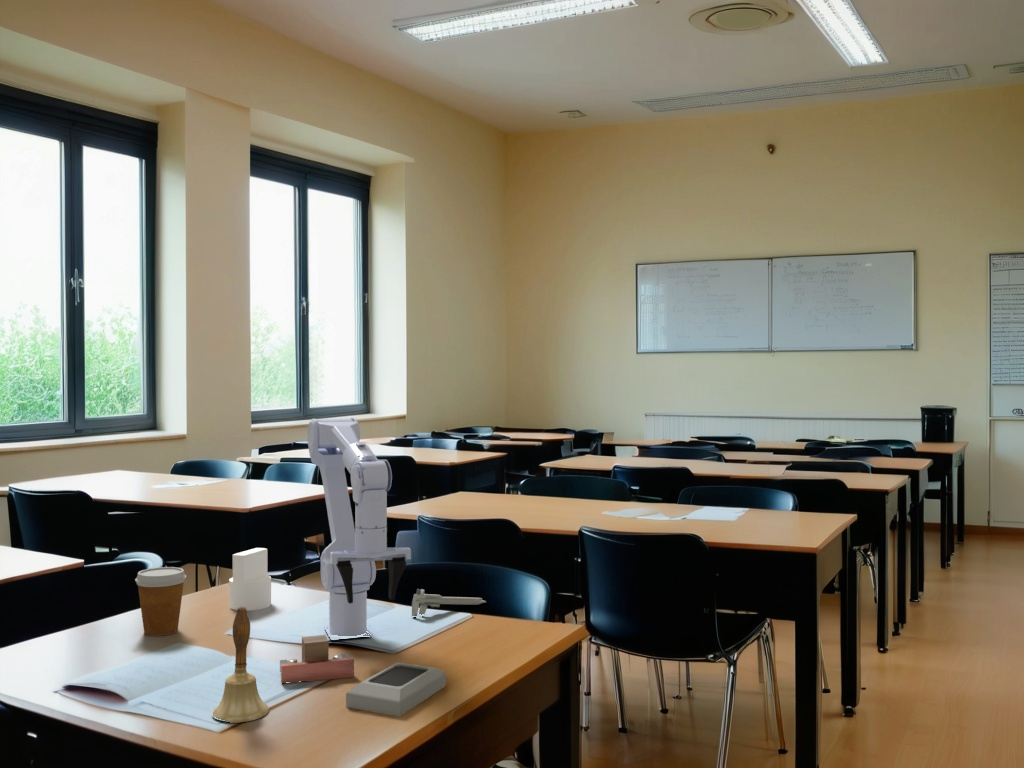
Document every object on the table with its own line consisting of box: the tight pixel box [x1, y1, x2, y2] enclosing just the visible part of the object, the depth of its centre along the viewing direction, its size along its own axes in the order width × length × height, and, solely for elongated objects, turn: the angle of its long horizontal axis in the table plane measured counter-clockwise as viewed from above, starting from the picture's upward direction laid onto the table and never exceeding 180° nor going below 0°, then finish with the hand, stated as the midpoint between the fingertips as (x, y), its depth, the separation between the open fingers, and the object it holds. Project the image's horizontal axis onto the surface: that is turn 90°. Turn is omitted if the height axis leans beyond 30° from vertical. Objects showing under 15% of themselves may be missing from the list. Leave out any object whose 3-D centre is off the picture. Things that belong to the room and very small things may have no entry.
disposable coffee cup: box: [134, 566, 187, 637], centre depth 184 cm, size 10×10×12 cm
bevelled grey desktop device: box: [345, 661, 447, 717], centre depth 148 cm, size 10×4×15 cm
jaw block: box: [301, 634, 330, 662], centre depth 159 cm, size 4×4×6 cm
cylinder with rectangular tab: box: [228, 547, 272, 612], centre depth 205 cm, size 9×9×12 cm
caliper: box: [411, 588, 487, 617], centre depth 201 cm, size 20×1×6 cm, turn 134°
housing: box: [279, 653, 355, 684], centre depth 158 cm, size 7×12×3 cm, turn 109°
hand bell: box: [212, 607, 270, 724], centre depth 140 cm, size 8×8×16 cm
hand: (371, 600), depth 169 cm, fingers open, 7 cm apart
